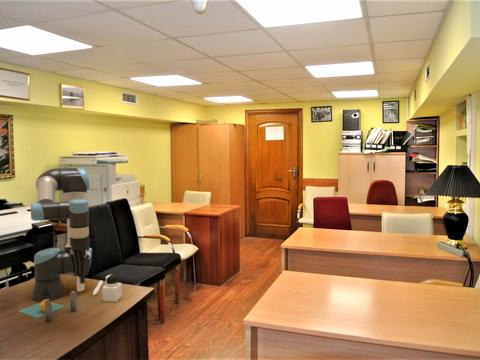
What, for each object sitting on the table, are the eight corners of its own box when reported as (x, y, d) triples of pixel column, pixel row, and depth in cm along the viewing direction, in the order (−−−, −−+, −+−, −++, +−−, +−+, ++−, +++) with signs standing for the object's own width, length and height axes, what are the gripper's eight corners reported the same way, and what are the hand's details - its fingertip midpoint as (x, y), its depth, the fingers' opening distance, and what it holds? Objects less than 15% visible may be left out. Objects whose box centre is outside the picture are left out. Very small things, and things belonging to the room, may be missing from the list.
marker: (96, 296, 196) (96, 292, 196) (91, 297, 196) (91, 292, 195) (103, 284, 214) (103, 279, 214) (99, 284, 213) (99, 280, 213)
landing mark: (17, 311, 177) (17, 310, 177) (45, 300, 189) (45, 300, 189) (37, 318, 170) (37, 317, 170) (64, 306, 183) (64, 306, 183)
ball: (46, 309, 173) (41, 316, 175) (57, 304, 178) (51, 311, 180) (40, 299, 174) (35, 306, 176) (51, 295, 179) (45, 301, 181)
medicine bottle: (122, 296, 196) (121, 273, 195) (116, 302, 189) (115, 278, 188) (108, 295, 197) (108, 272, 196) (102, 301, 190) (101, 277, 188)
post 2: (69, 311, 178) (68, 292, 177) (74, 308, 180) (73, 290, 180) (73, 312, 177) (72, 293, 176) (77, 310, 179) (77, 291, 178)
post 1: (44, 321, 167) (43, 301, 166) (49, 319, 169) (48, 299, 169) (48, 323, 166) (47, 302, 165) (53, 320, 168) (52, 300, 167)
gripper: (97, 236, 164) (98, 290, 166) (76, 232, 170) (77, 284, 172) (82, 240, 157) (83, 296, 160) (61, 236, 163) (63, 290, 166)
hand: (80, 290), depth 166 cm, fingers closed
